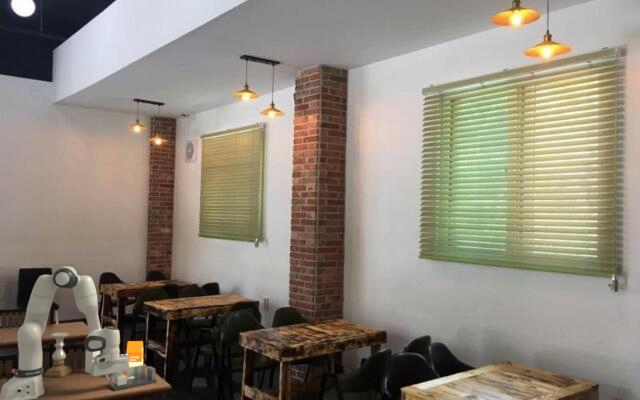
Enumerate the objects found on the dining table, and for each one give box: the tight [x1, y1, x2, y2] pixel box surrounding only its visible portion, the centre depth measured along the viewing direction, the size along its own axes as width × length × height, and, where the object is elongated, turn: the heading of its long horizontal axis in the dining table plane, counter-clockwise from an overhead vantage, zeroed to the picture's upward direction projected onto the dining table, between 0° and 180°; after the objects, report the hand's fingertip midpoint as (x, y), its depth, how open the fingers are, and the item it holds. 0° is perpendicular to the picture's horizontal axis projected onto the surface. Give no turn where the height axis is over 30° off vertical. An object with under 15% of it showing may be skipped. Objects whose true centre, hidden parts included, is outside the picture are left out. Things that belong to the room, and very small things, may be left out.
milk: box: [84, 349, 102, 374], centre depth 328 cm, size 6×6×22 cm
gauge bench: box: [107, 363, 158, 392], centre depth 306 cm, size 24×11×8 cm, turn 132°
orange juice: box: [125, 340, 144, 367], centre depth 324 cm, size 8×9×20 cm
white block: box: [113, 375, 134, 386], centre depth 303 cm, size 10×7×4 cm, turn 132°
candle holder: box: [44, 331, 73, 378], centre depth 321 cm, size 11×11×24 cm
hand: (110, 381), depth 297 cm, fingers closed
